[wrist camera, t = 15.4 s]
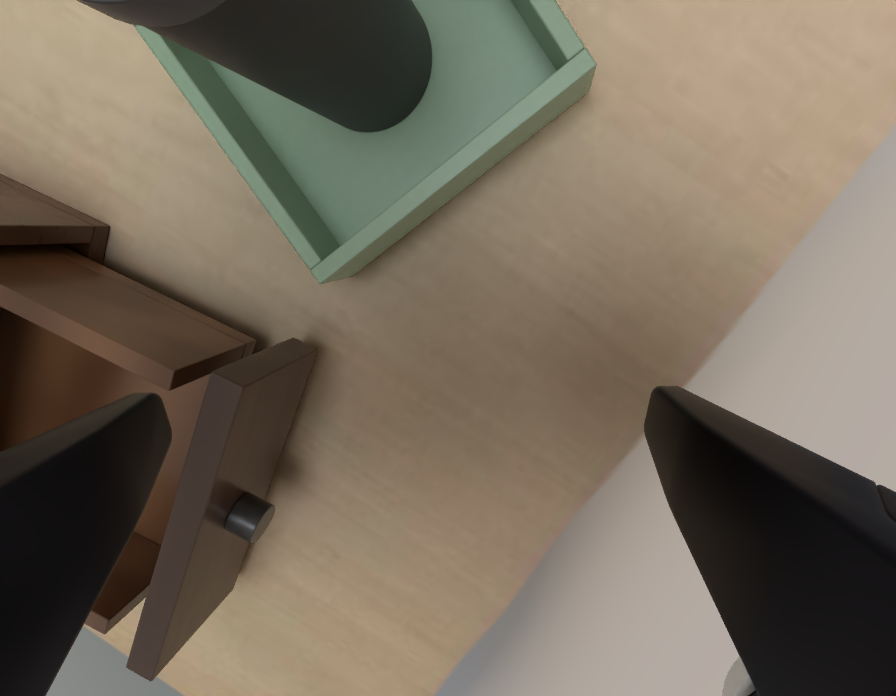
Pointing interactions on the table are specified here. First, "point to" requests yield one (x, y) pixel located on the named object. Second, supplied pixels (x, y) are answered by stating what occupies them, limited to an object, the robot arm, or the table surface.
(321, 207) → the tray
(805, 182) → the table surface
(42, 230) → the cabinet
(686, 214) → the table surface
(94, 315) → the drawer
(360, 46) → the canister
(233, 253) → the table surface
